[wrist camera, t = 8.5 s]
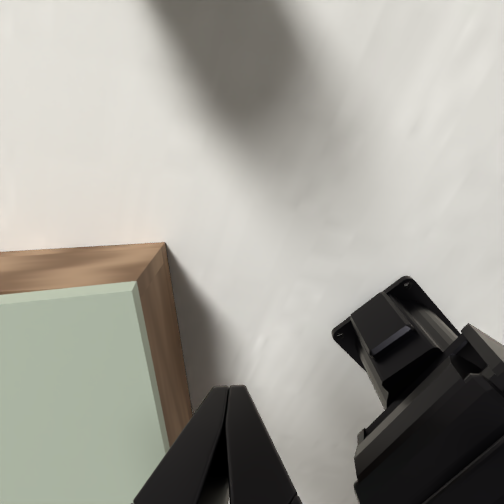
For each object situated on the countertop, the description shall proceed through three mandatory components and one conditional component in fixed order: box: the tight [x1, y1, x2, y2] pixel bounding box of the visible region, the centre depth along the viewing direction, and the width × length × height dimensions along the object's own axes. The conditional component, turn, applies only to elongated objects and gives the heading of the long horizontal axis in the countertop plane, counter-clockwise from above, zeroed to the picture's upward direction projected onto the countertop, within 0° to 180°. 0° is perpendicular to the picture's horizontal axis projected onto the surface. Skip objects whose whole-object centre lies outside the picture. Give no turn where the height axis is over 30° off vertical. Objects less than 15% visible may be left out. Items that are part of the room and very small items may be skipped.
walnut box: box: [0, 242, 193, 447], centre depth 21 cm, size 13×17×6 cm
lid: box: [0, 281, 170, 504], centre depth 17 cm, size 13×17×1 cm
